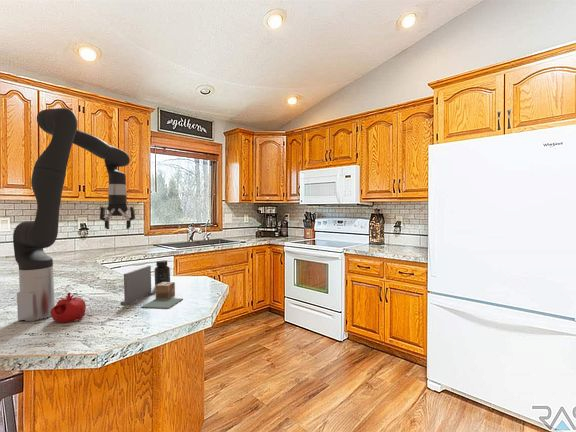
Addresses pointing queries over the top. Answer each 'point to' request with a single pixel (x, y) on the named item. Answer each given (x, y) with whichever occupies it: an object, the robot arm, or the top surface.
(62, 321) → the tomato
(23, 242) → the robot arm
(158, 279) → the supplement bottle
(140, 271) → the screen
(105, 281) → the top surface
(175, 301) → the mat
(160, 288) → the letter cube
